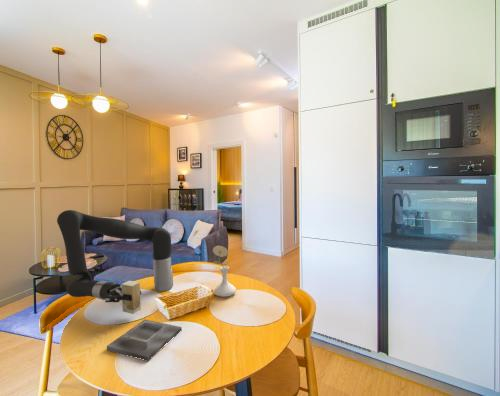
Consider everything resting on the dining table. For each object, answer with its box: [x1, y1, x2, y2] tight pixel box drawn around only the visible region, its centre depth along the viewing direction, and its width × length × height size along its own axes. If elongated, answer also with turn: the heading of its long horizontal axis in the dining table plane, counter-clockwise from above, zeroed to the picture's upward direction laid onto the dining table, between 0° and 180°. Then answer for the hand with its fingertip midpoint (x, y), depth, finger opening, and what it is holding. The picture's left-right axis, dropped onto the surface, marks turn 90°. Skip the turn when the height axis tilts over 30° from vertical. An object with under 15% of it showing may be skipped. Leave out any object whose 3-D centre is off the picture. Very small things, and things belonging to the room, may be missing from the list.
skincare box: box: [121, 280, 142, 315], centre depth 108 cm, size 6×4×12 cm
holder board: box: [106, 319, 183, 362], centre depth 93 cm, size 18×18×4 cm
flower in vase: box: [212, 245, 237, 298], centre depth 130 cm, size 13×11×25 cm
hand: (136, 295), depth 107 cm, fingers closed on skincare box, 4 cm apart
